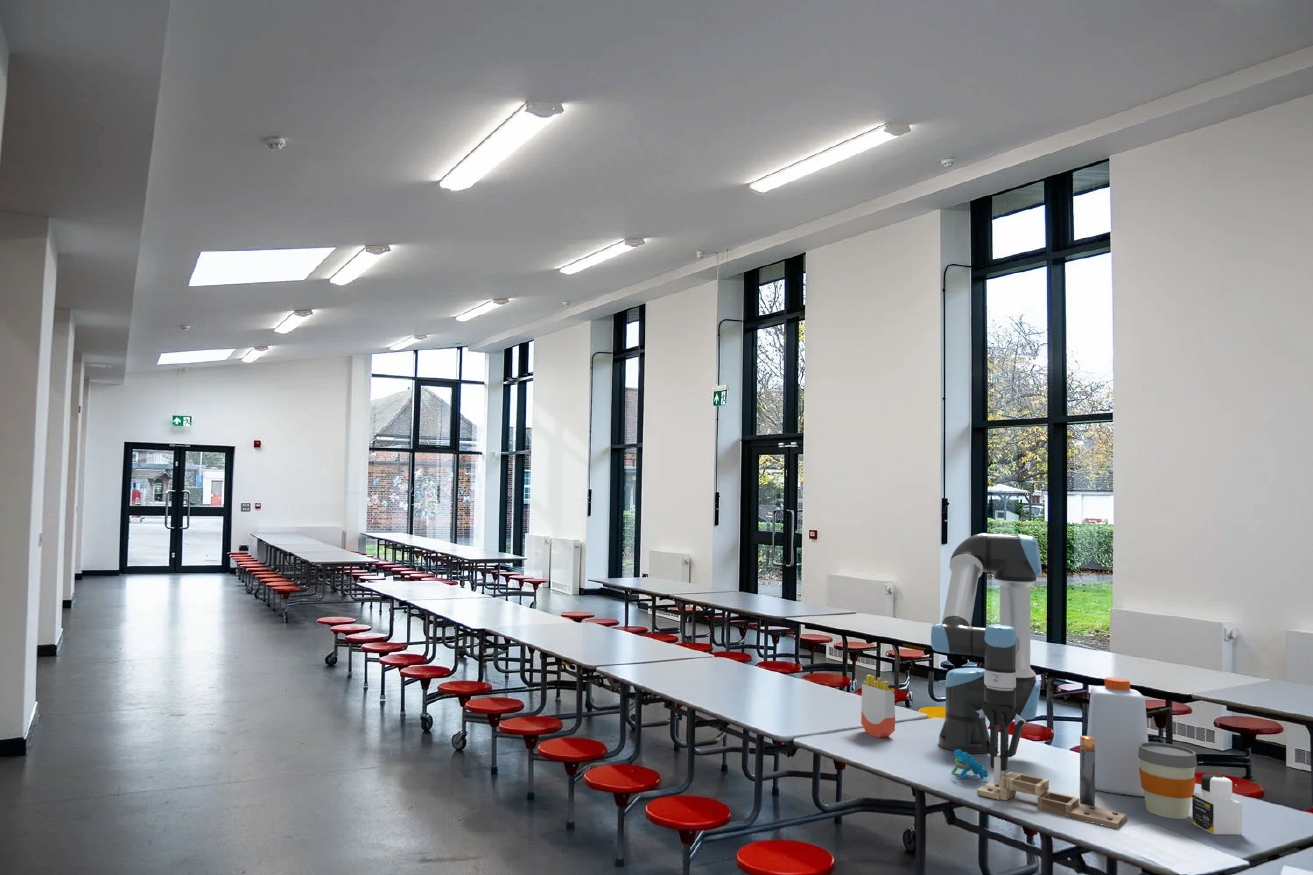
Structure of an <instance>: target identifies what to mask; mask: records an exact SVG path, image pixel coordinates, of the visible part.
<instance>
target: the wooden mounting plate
mask: <svg viewBox="0 0 1313 875" xmlns="http://www.w3.org/2000/svg"><path fill="white" fill-rule="evenodd" d="M1040 809H1041V810H1040ZM1037 810H1040V811H1044V810H1046V811H1045V812H1050V813H1054V814H1057V815H1061V816H1065V815H1067V816H1066V817H1070V819H1073V818H1074V820H1078V821H1082V822H1086V823H1090V822H1094V823H1098V824H1097V825H1099V824H1103V825H1106V826H1105V827H1107V826H1109V827H1108V828H1111V827H1113V829H1115V828H1117V829H1119V828H1120V827H1121V826H1122V825H1123V824H1124V823H1125V821H1127V819H1128V817H1127V816H1128V814H1127V813H1124V812H1123V813H1122V812H1118V811H1114V810H1110V809H1106V808H1102V807H1097V806H1089V805H1084V804H1081V803H1080V797H1076V796H1070V795H1066V794H1062V793H1058V792H1053V791H1049V790H1048V791H1046V792H1045V793H1043V794H1042V795H1041V796H1037ZM1094 823H1093V824H1094ZM1103 825H1102V826H1103ZM1117 829H1116V830H1117Z"/></svg>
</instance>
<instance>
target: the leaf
mask: <svg viewBox="0 0 1313 875" xmlns="http://www.w3.org/2000/svg"><path fill="white" fill-rule="evenodd" d="M1049 781H1050V780H1049V779H1048V778H1044V777H1043V778H1041V777H1037V776H1032V775H1029V774H1024V773H1019V772H1014V771H1009V772H1007V773H1005V774H1004V776H1002V777H1000V785H999V784H994V782H991V781H990V782H988V783H986V784H984V785H983V786H980V787H979V788H978V789H976V795H977V796H981V797H986V798H989V799H994V800H998V801H999V800H1003V801H1008V800H1009V799H1011V798H1012V797H1014V796H1015V795H1017V792H1019V793H1022V794H1028V795H1032V796H1035V797H1039V796H1041V795H1042V794H1044V793H1045V792H1046V791H1049V790H1050V789H1049V787H1050V782H1049Z"/></svg>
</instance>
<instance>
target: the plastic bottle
mask: <svg viewBox="0 0 1313 875" xmlns="http://www.w3.org/2000/svg"><path fill="white" fill-rule="evenodd" d="M1146 706H1147V705H1146V698H1145V697H1144V696H1143V694H1142V693H1141V692H1139V691H1138V690H1136V689H1134V688H1133V689H1132V688H1131V681H1130V680H1128V679H1125V678H1121V677H1105V678H1104V685H1094V686H1092V687H1091V689H1090V694H1089V706H1088V720H1087V721H1088V722H1087V731H1086V733H1087V734H1086V736H1090V737H1094V738H1095V791H1098V792H1102V791H1103V792H1102V793H1108V792H1109V794H1116V793H1117V795H1123V794H1126V796H1130V795H1132V796H1131V797H1140V796H1141V797H1145V795H1144V789H1143V788H1142V786H1141V779H1140V771H1139V768H1140V767H1141V765H1140V758H1139V757H1138V751H1139V744H1141V743H1149V734H1148V732H1149V731H1148V720H1147V709H1146Z"/></svg>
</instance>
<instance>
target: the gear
mask: <svg viewBox="0 0 1313 875" xmlns="http://www.w3.org/2000/svg"><path fill="white" fill-rule="evenodd" d="M953 754H954V757H955V759H954V762H955V764H954V766H955V767H954V768H953V769H952V771H951V774H953V773H954V774H955V773H956V771H957V770H958V769H960V770H962V771H961V773H960V774H958V778H959V779H960V778H961V779H960V780H963V778H964V777H965V775H967V773H968V772H970V771H971V772H972V774H973V775H975V776H979V778H982V779H983V778H984V779H986V778H987V777H989V775H988V773H989V771H988V770H987V769H986V768H984V767H985V766H984V764H982V763H980V762H979V763H978V762H977V759H976V758H975V757H974V756H970V755H969V754H970V753H967V752H962V750H960V749H958V750H956V749H955V751H954V750H953Z"/></svg>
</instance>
